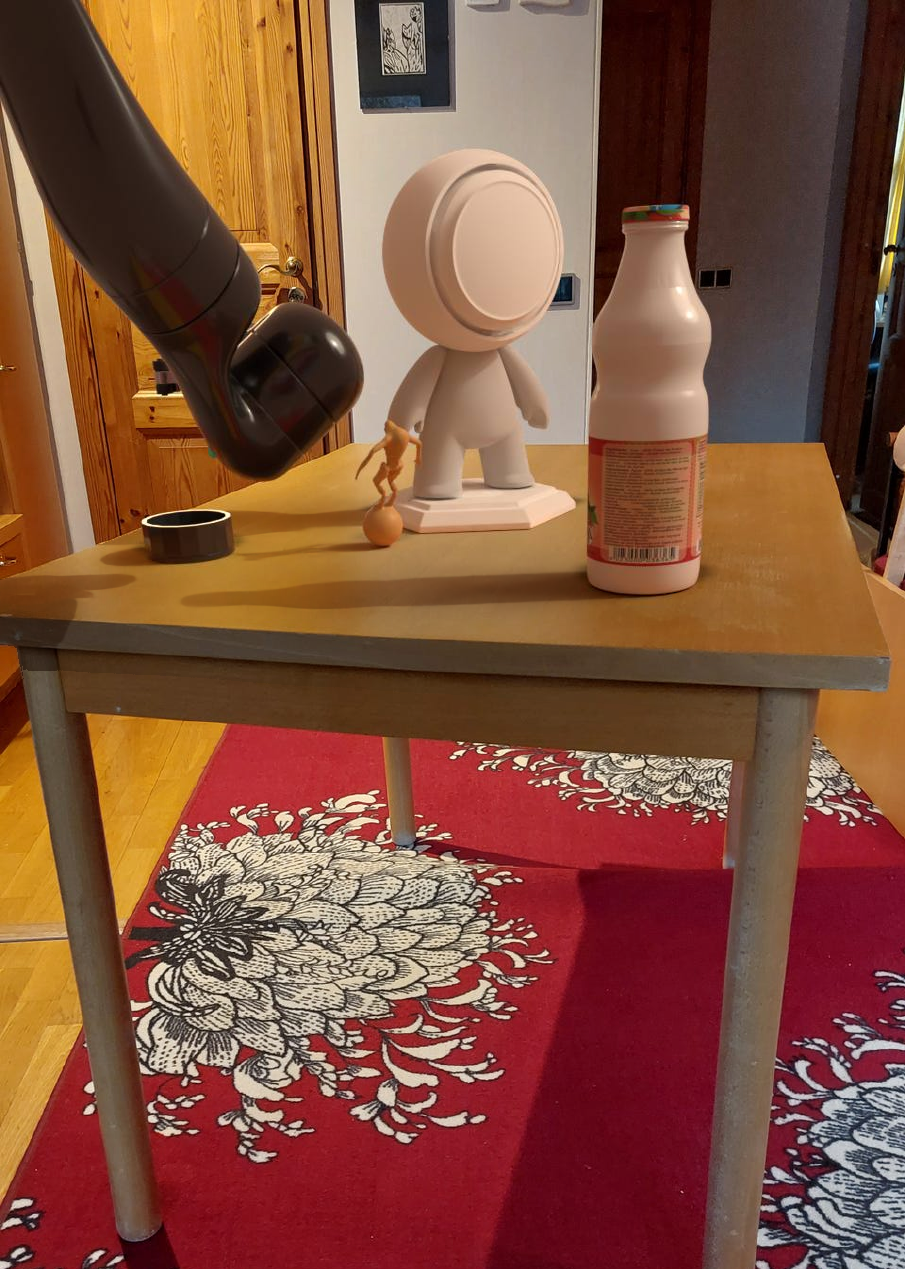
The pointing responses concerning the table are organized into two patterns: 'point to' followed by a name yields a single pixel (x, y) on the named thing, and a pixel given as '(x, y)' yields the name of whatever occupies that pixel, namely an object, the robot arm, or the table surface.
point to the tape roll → (188, 536)
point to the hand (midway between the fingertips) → (231, 366)
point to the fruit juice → (648, 414)
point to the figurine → (382, 518)
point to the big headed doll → (473, 337)
